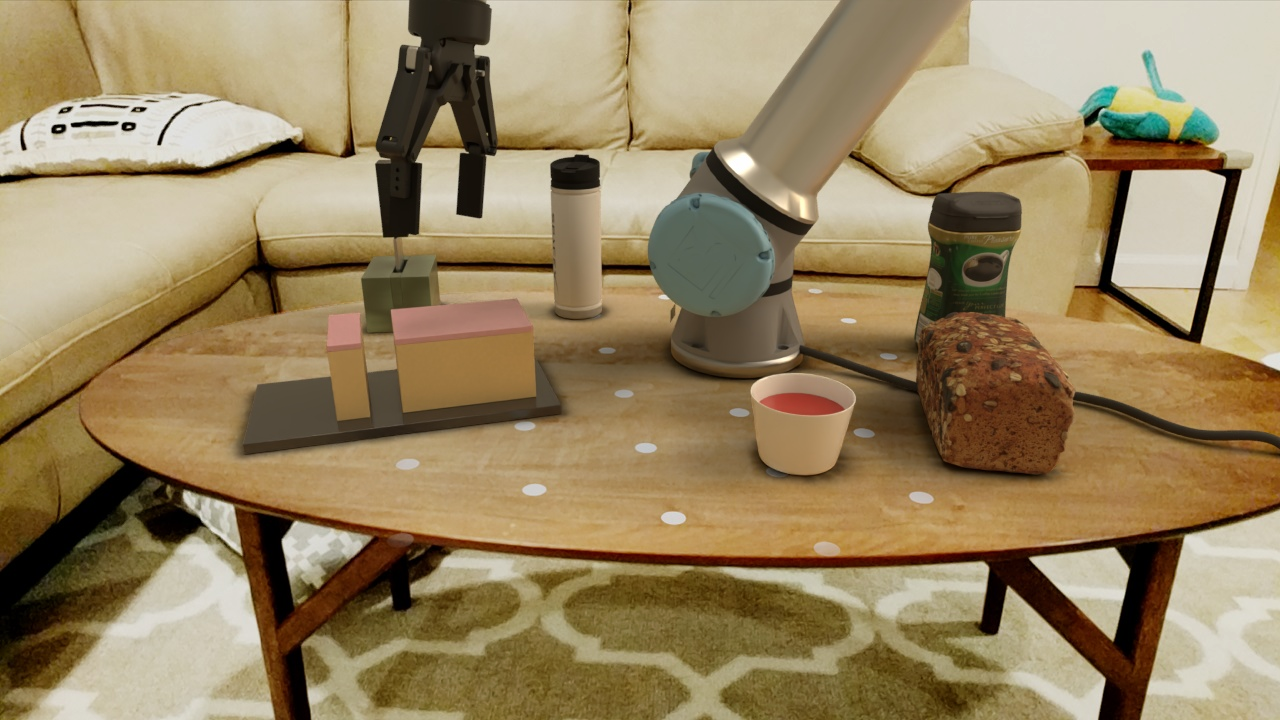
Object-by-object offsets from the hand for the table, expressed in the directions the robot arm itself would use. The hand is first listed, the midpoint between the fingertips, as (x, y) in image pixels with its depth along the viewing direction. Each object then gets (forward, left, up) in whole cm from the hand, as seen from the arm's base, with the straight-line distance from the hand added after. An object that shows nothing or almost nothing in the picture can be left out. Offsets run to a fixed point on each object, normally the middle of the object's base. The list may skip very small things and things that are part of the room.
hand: (438, 224), depth 86 cm
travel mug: (-11, -24, -17) cm, 31 cm away
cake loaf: (-2, +4, -16) cm, 17 cm away
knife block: (+11, -20, -17) cm, 28 cm away
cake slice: (+8, +8, -16) cm, 20 cm away
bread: (-53, +8, -17) cm, 56 cm away
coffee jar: (-57, -13, -17) cm, 61 cm away
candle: (-35, +15, -17) cm, 42 cm away
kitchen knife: (+11, -20, -17) cm, 28 cm away
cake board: (+3, +6, -17) cm, 18 cm away
